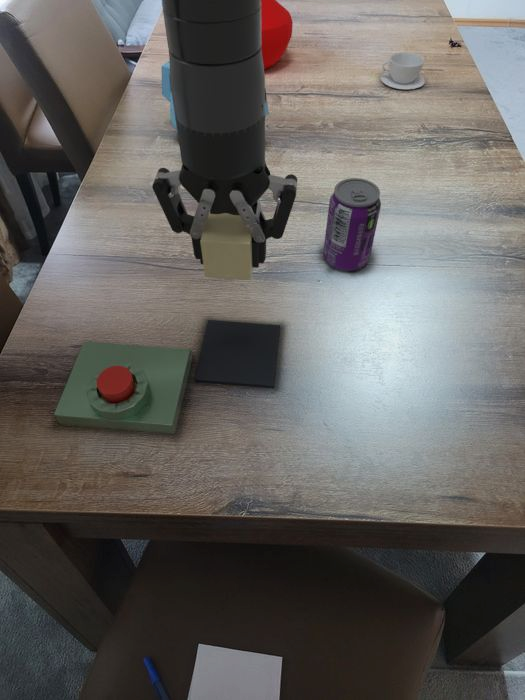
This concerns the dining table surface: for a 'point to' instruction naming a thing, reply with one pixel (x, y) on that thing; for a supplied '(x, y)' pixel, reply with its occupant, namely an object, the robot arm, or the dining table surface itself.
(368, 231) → the beverage can
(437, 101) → the dining table surface
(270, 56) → the vase
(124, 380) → the switch
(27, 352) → the dining table surface
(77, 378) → the switch base
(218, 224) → the block
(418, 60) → the teacup
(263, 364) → the mat
